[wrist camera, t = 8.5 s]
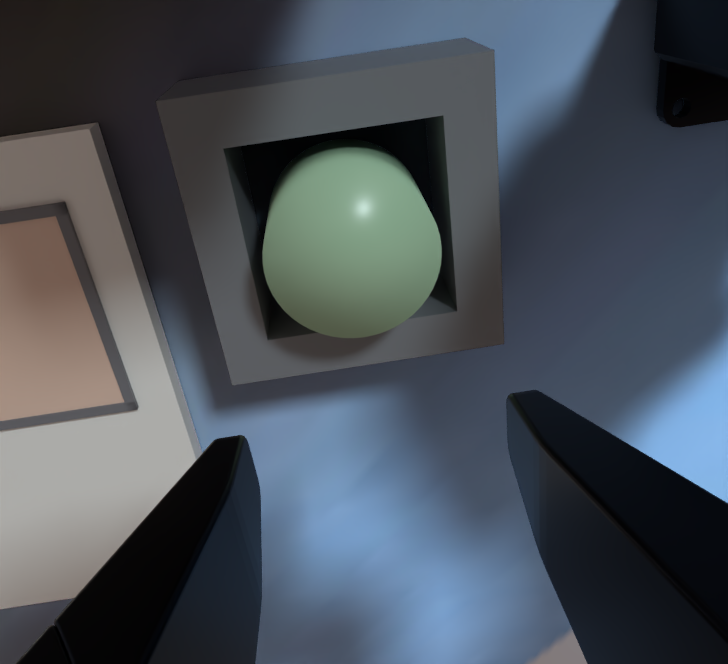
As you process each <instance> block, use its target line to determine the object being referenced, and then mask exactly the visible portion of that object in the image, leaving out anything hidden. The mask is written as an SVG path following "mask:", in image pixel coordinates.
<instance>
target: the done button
mask: <svg viewBox="0 0 728 664" xmlns="http://www.w3.org/2000/svg"><path fill="white" fill-rule="evenodd" d="M262 258H263V269H264V274H265V278H266V281H267V284H268V286H269V289H270V291H271V293H272V295H273V296H274V298H275V300H276V301H277V303H278V304H279V305H280V306H281V308H282V309H283V310H284V311H285V312H286V313H287V314H288V315H289V316H290V317H291V318H293V319H294V320H295V321H297V322H298V323H300V324H301V325H303V326H305V327H307V328H308V329H310V330H313V331H315V332H318V333H320V334H324V335H328V336H332V337H339V338H361V337H368V336H373V335H377V334H380V333H383V332H385V331H388V330H390V329H392V328H394V327H396V326H398V325H399V324H401V323H403V322H404V321H406V320H407V319H408V318H409V317H411V316H412V315H413V314H414V313H415V312H416V311H417V310H418V309H419V308H420V307H421V306H422V305H423V303H424V302H425V301H426V299H427V298H428V297H429V295H430V293H431V291H432V290H433V288H434V285H435V283H436V281H437V278H438V274H439V271H440V266H441V258H442V246H441V239H440V234H439V231H438V227H437V224H436V222H435V220H434V218H433V216H432V214H431V212H430V210H429V208H428V206H427V204H426V202H425V200H424V198H423V196H422V194H421V192H420V190H419V188H418V186H417V184H416V182H415V181H414V179H413V177H412V175H411V174H410V172H409V170H408V169H407V168H406V167H405V165H404V164H403V163H402V162H401V161H400V160H399V159H398V158H397V157H396V156H394V155H393V154H392V153H390V152H389V151H387V150H386V149H384V148H382V147H380V146H378V145H376V144H373V143H370V142H367V141H363V140H358V139H334V140H329V141H325V142H322V143H319V144H316V145H314V146H312V147H310V148H308V149H306V150H304V151H303V152H302V153H300V154H299V155H297V156H296V157H295V158H294V159H293V160H292V161H291V162H290V163H289V164H288V165H287V166H286V167H285V168H284V170H283V171H282V172H281V174H280V176H279V177H278V179H277V181H276V183H275V186H274V188H273V191H272V194H271V198H270V204H269V211H268V217H267V224H266V230H265V237H264V244H263V251H262Z"/></svg>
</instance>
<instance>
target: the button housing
mask: <svg viewBox="0 0 728 664" xmlns="http://www.w3.org/2000/svg"><path fill="white" fill-rule="evenodd" d="M155 102H156V106H157V109H158V113H159V117H160V120H161V124H162V128H163V132H164V135H165V139H166V143H167V146H168V150H169V154H170V157H171V161H172V165H173V168H174V172H175V176H176V179H177V183H178V187H179V191H180V194H181V198H182V202H183V205H184V209H185V213H186V216H187V220H188V224H189V227H190V231H191V235H192V238H193V242H194V246H195V250H196V253H197V257H198V261H199V264H200V268H201V272H202V275H203V279H204V283H205V286H206V290H207V294H208V297H209V301H210V305H211V309H212V312H213V316H214V320H215V323H216V327H217V331H218V334H219V338H220V342H221V345H222V349H223V353H224V356H225V360H226V364H227V368H228V371H229V375H230V379H231V382H232V386H233V385H239V384H246V383H252V382H259V381H266V380H272V379H279V378H285V377H292V376H298V375H305V374H311V373H318V372H324V371H331V370H338V369H344V368H351V367H357V366H364V365H370V364H377V363H383V362H390V361H397V360H403V359H410V358H416V357H423V356H429V355H436V354H442V353H449V352H456V351H462V350H469V349H475V348H482V347H488V346H495V345H501V344H504V323H503V294H502V264H501V235H500V206H499V176H498V147H497V118H496V88H495V59H494V50H492V49H490V48H488V47H485V46H483V45H481V44H478V43H476V42H474V41H472V40H469V39H467V38H460V39H453V40H447V41H440V42H434V43H427V44H420V45H414V46H407V47H400V48H394V49H387V50H380V51H374V52H367V53H360V54H354V55H347V56H341V57H334V58H327V59H321V60H314V61H307V62H301V63H294V64H287V65H281V66H274V67H268V68H261V69H254V70H248V71H241V72H234V73H228V74H221V75H214V76H208V77H201V78H195V79H188V80H181V81H178V82H177V83H176V84H174V85H173V86H172V87H171V88H170V89H169V90H168V91H167V92H165V93H164V94H163V95H162V96H161V97H160V98H159V99H158V100H156V101H155ZM423 118H425V124H426V136H427V147H428V159H429V171H430V183H431V195H432V207H433V218H434V220H435V222H436V224H437V227H438V231H439V234H440V239H441V246H442V258H441V266H440V271H439V274H438V278H437V281H436V283H435V285H434V288H433V290H432V291H431V293H430V295H429V297H428V298H427V299H426V301H425V302H424V303H423V305H422V306H421V307H420V308H419V309H418V310H417V311H416V312H415V313H414V314H413V315H412V316H411V317H409V318H408V319H407V320H406V321H404V322H403V323H401V324H399V325H398V326H396V327H394V328H392V329H390V330H388V331H385V332H383V333H380V334H377V335H373V336H368V337H361V338H339V337H332V336H328V335H324V334H320V333H318V332H315V331H313V330H310V329H308V328H307V327H305V326H303V325H301V324H300V323H298V322H297V321H295V320H294V319H293V318H291V317H290V316H289V315H288V314H287V313H286V312H285V311H284V310H283V309H282V308H281V306H280V305H279V304H278V303H277V301H276V300H275V298H274V296H273V295H272V293H271V291H270V289H269V286H268V284H267V281H266V278H265V274H264V269H263V258H262V251H263V245H262V241H261V236H260V232H259V227H258V223H257V218H256V213H255V209H254V204H253V200H252V195H251V190H250V186H249V181H248V177H247V172H246V168H245V163H244V158H243V154H242V149H241V146H244V145H251V144H258V143H264V142H271V141H278V140H284V139H291V138H297V137H304V136H311V135H317V134H324V133H330V132H337V131H344V130H350V129H357V128H364V127H370V126H377V125H383V124H390V123H397V122H403V121H410V120H417V119H423Z"/></svg>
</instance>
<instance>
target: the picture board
mask: <svg viewBox="0 0 728 664" xmlns="http://www.w3.org/2000/svg"><path fill="white" fill-rule="evenodd" d="M201 454H202V450H201V447H200V444H199V441H198V438H197V435H196V431H195V428H194V425H193V422H192V419H191V416H190V412H189V409H188V406H187V403H186V400H185V397H184V393H183V390H182V387H181V384H180V381H179V378H178V374H177V371H176V368H175V365H174V362H173V359H172V355H171V352H170V349H169V346H168V343H167V340H166V336H165V333H164V330H163V327H162V324H161V321H160V317H159V314H158V311H157V308H156V305H155V302H154V298H153V295H152V292H151V289H150V286H149V283H148V279H147V276H146V273H145V270H144V267H143V264H142V260H141V257H140V254H139V251H138V248H137V245H136V241H135V238H134V235H133V232H132V229H131V226H130V222H129V219H128V216H127V213H126V210H125V207H124V203H123V200H122V197H121V194H120V191H119V188H118V184H117V181H116V178H115V175H114V172H113V169H112V165H111V162H110V159H109V156H108V153H107V150H106V146H105V143H104V140H103V137H102V134H101V131H100V127H99V124H98V122H97V123H90V124H84V125H77V126H70V127H64V128H57V129H50V130H44V131H37V132H30V133H24V134H17V135H11V136H4V137H0V609H6V608H12V607H19V606H25V605H32V604H38V603H45V602H51V601H58V600H64V599H71V598H75V597H76V596H77V594H78V593H79V592H80V591H81V590H82V589H83V588H84V586H85V585H86V584H87V583H88V582H89V581H90V580H91V579H92V577H93V576H94V575H95V574H96V573H97V572H98V571H99V570H100V568H101V567H102V566H103V565H104V564H105V563H106V562H107V560H108V559H109V558H110V557H111V556H112V555H113V554H114V553H115V551H116V550H117V549H118V548H119V547H120V546H121V545H122V544H123V542H124V541H125V540H126V539H127V538H128V537H129V536H130V535H131V533H132V532H133V531H134V530H135V529H136V528H137V527H138V525H139V524H140V523H141V522H142V521H143V520H144V519H145V518H146V516H147V515H148V514H149V513H150V512H151V511H152V510H153V509H154V507H155V506H156V505H157V504H158V503H159V502H160V501H161V499H162V498H163V497H164V496H165V495H166V494H167V493H168V492H169V490H170V489H171V488H172V487H173V486H174V485H175V484H176V483H177V481H178V480H179V479H180V478H181V477H182V476H183V475H184V474H185V472H186V471H187V470H188V469H189V468H190V467H191V466H192V464H193V463H194V462H195V461H196V460H197V459H198V458H199V457H200V455H201Z"/></svg>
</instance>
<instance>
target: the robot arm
mask: <svg viewBox="0 0 728 664" xmlns="http://www.w3.org/2000/svg"><path fill="white" fill-rule="evenodd" d="M654 51H655V53H656V54H657V55H658V56H659V57H660V67H659V80H658V93H657V106H656V110H657V116H658V117H659V119H660V121H662V122H664V123H665V124H668V125H670V126H672V127H685V126H691V125H698V124H705V123H711V122H718V121H725V120H728V0H657V13H656V27H655V41H654ZM679 99H683V101H684V105H683V108H682V110H681V111H680V112H679V113H678V114H675V115H673V112H672V109H673V106H674V104H675V103H676V102H677V100H679ZM506 409H507V438H508V449H509V454H510V458H511V462H512V465H513V468H514V472H515V475H516V478H517V482H518V485H519V488H520V492H521V495H522V498H523V502H524V505H525V508H526V512H527V515H528V518H529V522H530V525H531V528H532V531H533V535H534V538H535V541H536V544H537V547H538V550H539V553H540V556H541V558H542V561H543V563H544V566H545V568H546V571H547V573H548V575H549V577H550V580H551V582H552V584H553V587H554V589H555V591H556V593H557V596H558V598H559V600H560V602H561V605H562V607H563V609H564V611H565V614H566V616H567V618H568V620H569V623H570V625H571V627H572V630H573V632H574V634H575V636H576V639H577V640H578V643H579V645H580V647H581V650H582V652H583V654H584V657H585V659H586V661H587V663H588V664H728V503H727V502H725V501H723V500H722V499H720V498H718V497H716V496H715V495H713V494H711V493H710V492H708V491H706V490H705V489H703V488H701V487H700V486H698V485H696V484H695V483H693V482H691V481H690V480H688V479H686V478H685V477H683V476H681V475H679V474H678V473H676V472H674V471H673V470H671V469H669V468H668V467H666V466H664V465H663V464H661V463H659V462H658V461H656V460H654V459H653V458H651V457H649V456H648V455H646V454H644V453H643V452H641V451H639V450H637V449H636V448H634V447H632V446H631V445H629V444H627V443H626V442H624V441H622V440H621V439H619V438H617V437H616V436H614V435H612V434H611V433H609V432H607V431H606V430H604V429H602V428H601V427H599V426H597V425H595V424H594V423H592V422H590V421H589V420H587V419H585V418H584V417H582V416H580V415H579V414H577V413H575V412H574V411H572V410H570V409H569V408H567V407H565V406H564V405H562V404H560V403H558V402H557V401H555V400H553V399H552V398H550V397H548V396H547V395H545V394H543V393H542V392H540V391H537V390H531V391H524V392H518V393H512V394H510V395H509V396H508V398H507V402H506ZM261 600H262V551H261V495H260V486H259V481H258V477H257V473H256V470H255V466H254V462H253V458H252V455H251V451H250V447H249V444H248V441H247V439H246V438H245V437H244V436H242V435H238V436H231V437H225V438H219V439H216V440H214V441H213V442H212V443H211V444H210V445H209V446H208V448H207V449H206V450H205V451H204V452H203V453H202V454H201V455H200V457H199V458H198V459H197V460H196V461H195V462H194V463H193V464H192V466H191V467H190V468H189V469H188V470H187V471H186V472H185V474H184V475H183V476H182V477H181V478H180V479H179V480H178V481H177V483H176V484H175V485H174V486H173V487H172V488H171V489H170V490H169V492H168V493H167V494H166V495H165V496H164V497H163V498H162V499H161V501H160V502H159V503H158V504H157V505H156V506H155V507H154V509H153V510H152V511H151V512H150V513H149V514H148V515H147V516H146V518H145V519H144V520H143V521H142V522H141V523H140V524H139V525H138V527H137V528H136V529H135V530H134V531H133V532H132V533H131V535H130V536H129V537H128V538H127V539H126V540H125V541H124V542H123V544H122V545H121V546H120V547H119V548H118V549H117V550H116V551H115V553H114V554H113V555H112V556H111V557H110V558H109V559H108V560H107V562H106V563H105V564H104V565H103V566H102V567H101V568H100V570H99V571H98V572H97V573H96V574H95V575H94V576H93V577H92V579H91V580H90V581H89V582H88V583H87V584H86V585H85V586H84V588H83V589H82V590H81V591H80V592H79V593H78V594H77V596H76V597H75V598H74V599H73V600H72V601H71V602H70V603H69V605H68V606H67V607H66V608H65V609H64V610H63V611H62V612H61V614H60V615H59V616H58V617H57V618H56V619H55V621H54V624H55V626H54V625H51V626H49V627H48V628H47V629H46V630H45V631H44V632H43V634H42V635H41V636H40V637H39V638H38V639H37V640H36V641H35V643H34V644H33V645H32V646H31V647H30V648H29V649H28V651H27V652H26V653H25V654H24V655H23V656H22V657H21V658H20V659H19V660H18V661H17V662H16V664H255V660H256V651H257V642H258V632H259V623H260V613H261Z"/></svg>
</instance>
